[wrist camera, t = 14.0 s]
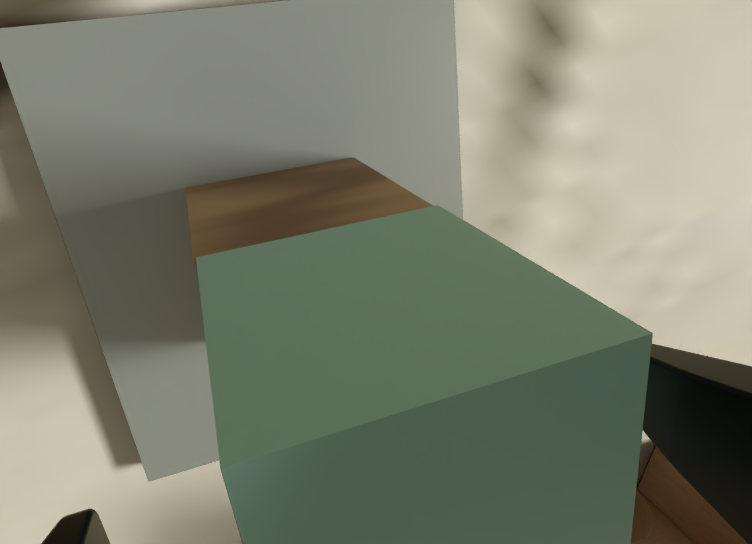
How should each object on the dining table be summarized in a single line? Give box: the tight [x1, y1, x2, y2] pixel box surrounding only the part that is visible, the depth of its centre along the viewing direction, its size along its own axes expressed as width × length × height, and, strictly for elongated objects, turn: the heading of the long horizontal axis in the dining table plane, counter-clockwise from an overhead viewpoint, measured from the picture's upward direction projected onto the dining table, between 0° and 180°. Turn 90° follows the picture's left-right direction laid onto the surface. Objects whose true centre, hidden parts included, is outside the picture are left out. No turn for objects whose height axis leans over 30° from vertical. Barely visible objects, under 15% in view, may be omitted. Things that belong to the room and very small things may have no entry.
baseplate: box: [0, 0, 463, 481], centre depth 18 cm, size 12×14×1 cm
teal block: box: [196, 205, 653, 544], centre depth 10 cm, size 5×5×6 cm
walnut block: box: [186, 157, 433, 277], centre depth 15 cm, size 5×5×6 cm
